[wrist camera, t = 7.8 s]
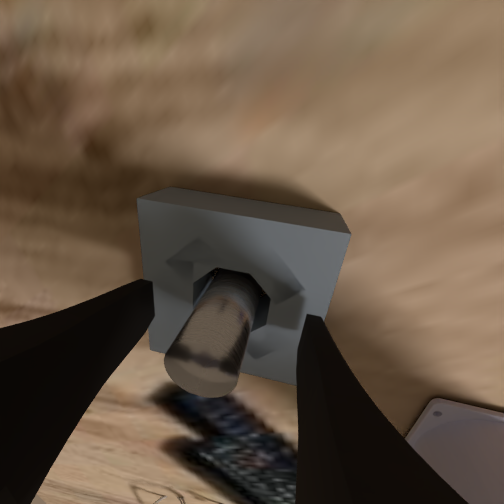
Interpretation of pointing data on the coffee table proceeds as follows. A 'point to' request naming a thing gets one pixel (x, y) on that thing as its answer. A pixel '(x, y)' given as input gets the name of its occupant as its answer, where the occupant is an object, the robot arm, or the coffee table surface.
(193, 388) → the round bit
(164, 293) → the socket block
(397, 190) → the coffee table surface
